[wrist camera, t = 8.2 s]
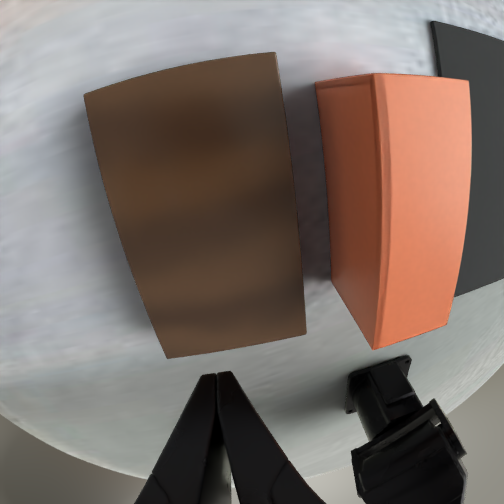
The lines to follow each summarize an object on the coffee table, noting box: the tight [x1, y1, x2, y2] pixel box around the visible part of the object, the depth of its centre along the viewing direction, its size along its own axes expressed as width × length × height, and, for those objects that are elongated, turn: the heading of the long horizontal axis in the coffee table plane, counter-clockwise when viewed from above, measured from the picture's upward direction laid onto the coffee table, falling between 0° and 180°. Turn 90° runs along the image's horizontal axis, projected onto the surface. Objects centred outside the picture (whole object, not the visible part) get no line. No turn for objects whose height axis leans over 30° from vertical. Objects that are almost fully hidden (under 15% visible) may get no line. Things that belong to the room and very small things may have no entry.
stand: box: [84, 52, 307, 359], centre depth 17 cm, size 16×9×3 cm, turn 9°
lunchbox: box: [315, 73, 472, 350], centre depth 15 cm, size 13×7×5 cm
